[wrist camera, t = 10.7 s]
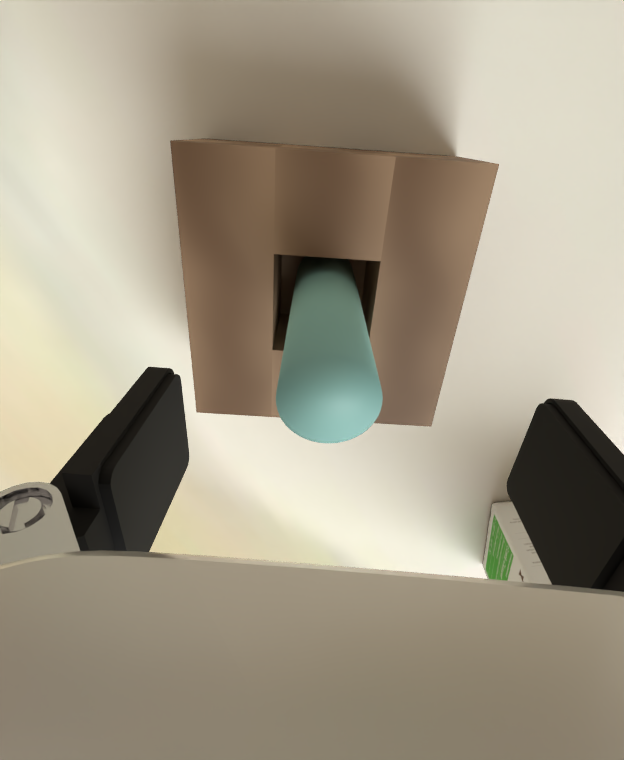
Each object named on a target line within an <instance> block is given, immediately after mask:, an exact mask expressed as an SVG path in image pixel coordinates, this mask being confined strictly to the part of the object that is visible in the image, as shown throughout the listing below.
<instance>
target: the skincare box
mask: <svg viewBox="0 0 624 760" xmlns="http://www.w3.org/2000/svg"><path fill="white" fill-rule="evenodd" d="M483 568H484V570H485V573H486V576H487V578H488V579H494V580H505V581H516V582H527V583H538V584H550V585H552V584H551V582H550V580H549V578H548V575H547V573H546V571H545V569H544V567H543V565H542V563H541V561H540V559H539V557H538V555H537V553H536V551H535V548H534V546H533V544H532V542H531V540H530V538H529V536H528V534H527V532H526V530H525V528H524V526H523V524H522V521H521V519H520V517H519V515H518V513H517V511H516V509H515V507H514V505H513V503H512V501H509V502H499V503H494V504H492V508H491V517H490V521H489V526H488V534H487V541H486V548H485V554H484V560H483Z"/></svg>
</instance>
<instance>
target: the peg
mask: <svg viewBox="0 0 624 760" xmlns="http://www.w3.org/2000/svg"><path fill="white" fill-rule="evenodd" d="M382 400H383V396H382V389H381V385H380V381H379V376H378V372H377V368H376V364H375V360H374V356H373V351H372V347H371V343H370V339H369V335H368V331H367V326H366V322H365V318H364V314H363V310H362V306H361V301H360V297H359V293H358V289H357V285H356V281H355V277H354V272H353V268H352V265H351V263H350V261H349V260H348V259H339V258H325V257H310V256H305V257H304V258H303V259H302V261H301V262H300V264H299V267H298V270H297V275H296V281H295V287H294V293H293V298H292V304H291V310H290V316H289V322H288V327H287V333H286V339H285V345H284V350H283V356H282V362H281V368H280V373H279V379H278V385H277V391H276V406H277V410H278V413H279V415H280V417H281V419H282V421H283V422H284V423H285V425H286V426H287V427H288V428H289V429H290V430H292V431H293V432H294V433H296V434H297V435H299V436H301V437H303V438H305V439H308V440H311V441H314V442H320V443H338V442H343V441H347V440H350V439H352V438H355V437H357V436H359V435H360V434H362V433H363V432H365V431H366V430H367V429H368V428H369V427H370V426H371V425H372V424H373V423H374V422H375V420H376V419H377V417H378V415H379V413H380V411H381V407H382Z"/></svg>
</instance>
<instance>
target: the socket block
mask: <svg viewBox="0 0 624 760" xmlns="http://www.w3.org/2000/svg"><path fill="white" fill-rule="evenodd" d="M170 142H171V153H172V163H173V173H174V184H175V194H176V204H177V215H178V225H179V235H180V246H181V256H182V266H183V277H184V287H185V297H186V308H187V318H188V328H189V338H190V349H191V359H192V369H193V380H194V390H195V400H196V411H197V412H200V413H216V414H233V415H249V416H266V417H280V415H279V413H278V410H277V406H276V391H277V385H278V379H279V373H280V368H281V362H282V356H283V350H284V345H285V339H286V333H287V327H288V322H289V316H290V310H291V304H292V298H293V293H294V287H295V281H296V275H297V270H298V267H299V264H300V262H301V261H302V259H303V258H304V257H305V256H310V257H325V258H339V259H348V260H349V261H350V263H351V265H352V268H353V272H354V277H355V281H356V285H357V289H358V293H359V297H360V301H361V306H362V310H363V314H364V318H365V322H366V326H367V331H368V335H369V339H370V343H371V347H372V351H373V356H374V360H375V364H376V368H377V372H378V376H379V381H380V385H381V389H382V396H383V400H382V407H381V411H380V413H379V415H378V417H377V419H376V420H375V422H374V423H382V424H398V425H415V426H431V425H432V421H433V417H434V413H435V410H436V406H437V402H438V398H439V394H440V390H441V386H442V383H443V379H444V375H445V371H446V367H447V363H448V359H449V356H450V352H451V348H452V344H453V340H454V336H455V332H456V328H457V325H458V321H459V317H460V313H461V309H462V305H463V301H464V298H465V294H466V290H467V286H468V282H469V278H470V274H471V271H472V267H473V263H474V259H475V255H476V251H477V247H478V244H479V240H480V236H481V232H482V228H483V224H484V220H485V217H486V213H487V209H488V205H489V201H490V197H491V193H492V190H493V186H494V182H495V178H496V174H497V170H498V166H499V164H495V163H490V162H484V161H479V160H473V159H467V158H462V157H455V156H441V155H427V154H413V153H399V152H385V151H371V150H357V149H343V148H329V147H315V146H301V145H287V144H273V143H259V142H245V141H231V140H217V139H192V140H174V141H170Z"/></svg>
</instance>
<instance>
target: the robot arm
mask: <svg viewBox="0 0 624 760" xmlns="http://www.w3.org/2000/svg"><path fill="white" fill-rule="evenodd" d="M188 462H189V448H188V439H187V431H186V422H185V413H184V404H183V395H182V386H181V379H180V376H179V375H177V374H174V372H173V370H172V369H170V368H158V367H148V368H147V369H146V370H145V371H144V373H143V374H142V375H141V376H140V377H139V379H138V380H137V381H136V382H135V384H134V385H133V386H132V387H131V388H130V390H129V391H128V392H127V393H126V395H125V396H124V397H123V398H122V399H121V401H120V402H119V403H118V404H117V406H116V407H115V408H114V409H113V410H112V412H111V413H110V414H108V415H107V416H105V417H104V418H103V420H102V421H101V422H100V423H99V424H98V426H97V427H96V428H95V429H94V431H93V432H92V433H91V434H90V435H89V437H88V438H87V439H86V440H85V441H84V443H83V444H82V445H81V446H80V447H79V449H78V450H77V451H76V452H75V454H74V455H73V456H72V457H71V458H70V460H69V461H68V462H67V463H66V464H65V466H64V467H63V468H62V469H61V470H60V472H59V473H58V474H57V475H56V476H55V478H54V479H53V480H52V481H51V483H43V482H30V483H24V484H20V485H16V486H13V487H10V488H8V489H6V490H3V491H1V492H0V760H624V455H623V454H622V452H621V451H620V450H619V449H618V448H617V447H616V446H615V445H614V444H613V443H612V441H611V440H610V439H609V438H608V437H607V436H606V435H605V434H604V433H603V431H602V430H601V429H600V428H599V427H598V426H597V425H596V424H595V423H594V421H593V420H592V419H591V418H590V417H589V416H588V415H587V414H586V413H585V412H584V410H583V409H582V408H581V407H580V406H579V405H578V404H577V403H576V402H575V401H572V400H562V399H547V400H546V401H545V402H544V404H543V403H542V404H539V405H538V407H537V408H536V411H535V413H534V416H533V418H532V421H531V423H530V426H529V428H528V431H527V433H526V436H525V438H524V441H523V443H522V446H521V448H520V451H519V453H518V455H517V458H516V460H515V463H514V465H513V468H512V470H511V473H510V475H509V478H508V481H507V491H508V494H509V497H510V499H511V501H512V503H513V505H514V507H515V509H516V511H517V513H518V515H519V517H520V519H521V521H522V524H523V526H524V528H525V530H526V532H527V534H528V536H529V538H530V540H531V542H532V544H533V546H534V548H535V551H536V553H537V555H538V557H539V559H540V561H541V563H542V565H543V567H544V569H545V571H546V573H547V575H548V578H549V580H550V582H551V584H552V585H550V584H538V583H527V582H516V581H505V580H494V579H483V578H472V577H461V576H449V575H437V574H426V573H414V572H402V571H390V570H378V569H367V568H355V567H343V566H331V565H318V564H306V563H293V562H280V561H268V560H255V559H242V558H230V557H217V556H203V555H187V554H171V553H155V552H149V551H150V548H151V546H152V544H153V542H154V540H155V537H156V535H157V533H158V531H159V528H160V526H161V524H162V522H163V520H164V517H165V515H166V513H167V511H168V509H169V506H170V504H171V502H172V500H173V497H174V495H175V493H176V491H177V489H178V486H179V484H180V482H181V480H182V478H183V475H184V473H185V471H186V469H187V466H188Z"/></svg>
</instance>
